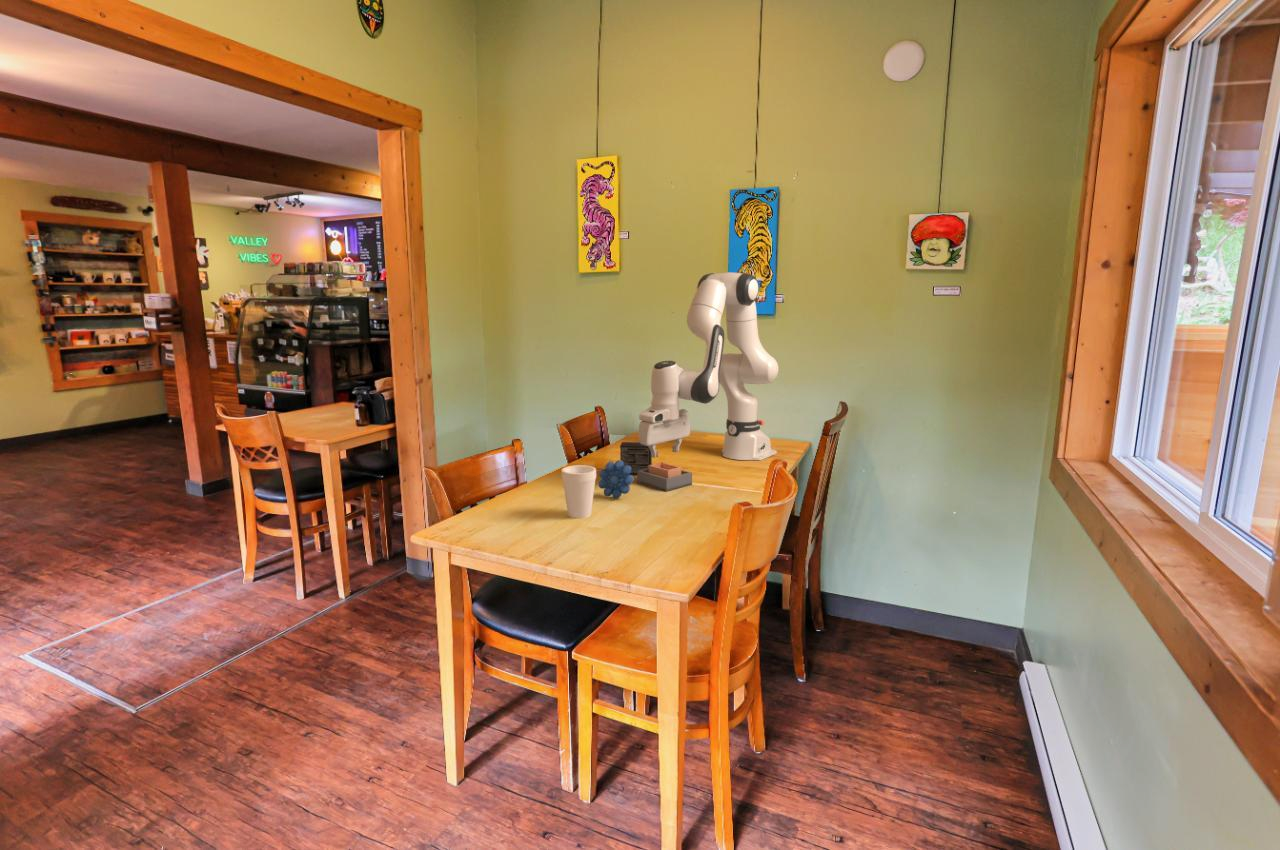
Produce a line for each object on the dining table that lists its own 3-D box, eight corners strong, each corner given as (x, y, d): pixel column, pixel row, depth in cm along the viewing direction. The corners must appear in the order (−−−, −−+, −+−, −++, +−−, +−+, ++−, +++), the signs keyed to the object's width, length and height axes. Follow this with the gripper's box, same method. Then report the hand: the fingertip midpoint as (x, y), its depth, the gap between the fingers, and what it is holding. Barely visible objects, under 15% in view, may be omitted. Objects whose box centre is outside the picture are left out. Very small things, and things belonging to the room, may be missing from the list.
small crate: (661, 476, 214) (661, 462, 213) (681, 482, 207) (681, 467, 206) (648, 480, 210) (648, 465, 209) (667, 485, 203) (668, 470, 202)
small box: (652, 471, 224) (652, 441, 222) (650, 476, 218) (650, 445, 216) (622, 470, 225) (622, 441, 223) (619, 475, 219) (619, 445, 217)
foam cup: (569, 522, 172) (568, 475, 170) (557, 512, 180) (556, 467, 178) (602, 516, 177) (601, 471, 174) (588, 507, 185) (588, 463, 182)
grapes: (639, 496, 195) (639, 458, 192) (629, 503, 189) (629, 463, 186) (605, 492, 199) (605, 454, 197) (595, 498, 193) (594, 459, 191)
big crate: (662, 476, 217) (662, 464, 216) (692, 484, 207) (692, 472, 207) (637, 482, 210) (637, 470, 209) (666, 491, 200) (666, 479, 199)
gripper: (680, 406, 213) (680, 447, 216) (635, 415, 200) (635, 458, 203) (694, 409, 209) (694, 450, 212) (648, 418, 195) (649, 462, 198)
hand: (665, 454), depth 207 cm, fingers open, 8 cm apart
